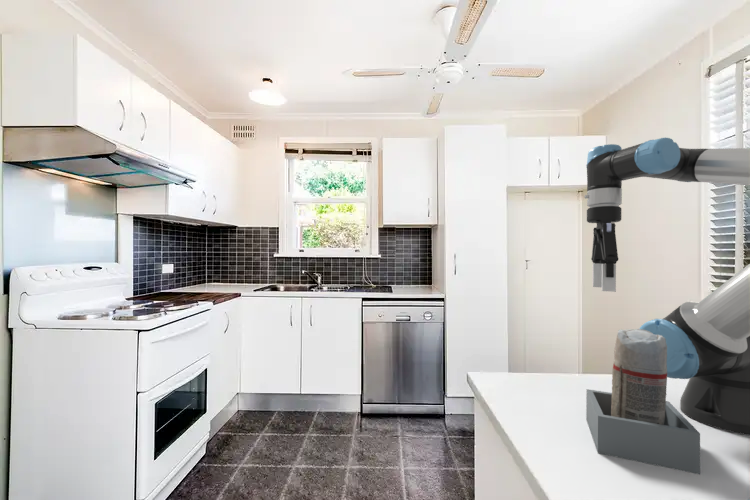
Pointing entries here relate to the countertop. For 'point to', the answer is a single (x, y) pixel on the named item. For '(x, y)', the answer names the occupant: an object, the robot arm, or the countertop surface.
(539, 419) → the countertop surface
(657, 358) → the white paper tall sack
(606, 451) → the bin
